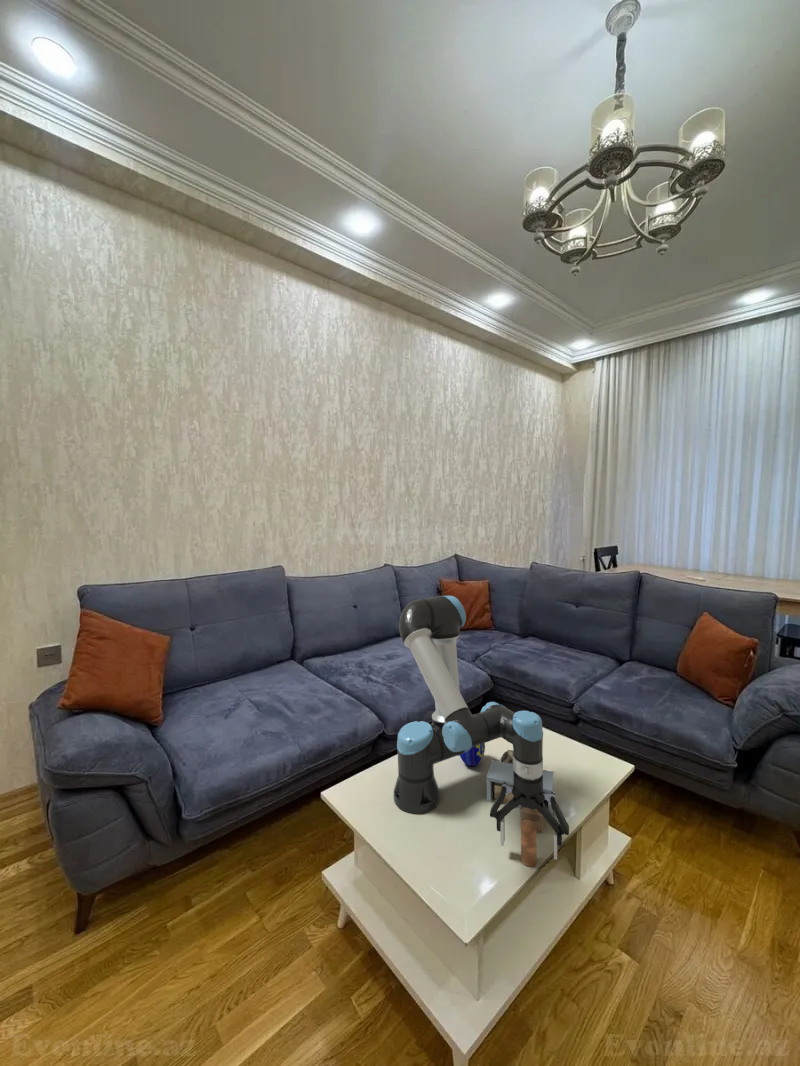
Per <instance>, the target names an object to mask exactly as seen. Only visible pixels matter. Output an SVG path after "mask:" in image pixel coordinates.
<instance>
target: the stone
mask: <svg viewBox="0 0 800 1066" xmlns="http://www.w3.org/2000/svg"><path fill="white" fill-rule="evenodd" d="M500 762H505V763H510V764H513V749H507V750H506V751H504V753H503V754H502V756H501V758H500Z"/></svg>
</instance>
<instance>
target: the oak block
mask: <svg viewBox="0 0 800 1066" xmlns="http://www.w3.org/2000/svg"><path fill="white" fill-rule="evenodd" d="M502 785H503V784H502V783H498V782H495V785H494V800H495V801H496V799H497V797H498V796H499V794H500V792H501V789H502ZM508 786H511V787H513V786H512V785H508ZM513 797H514V796H513V794H512V792H510V793H509V794H508V795H505V798H504V800H503V802H502V803H506V804H507V803H508V802H509V801H510V800H511V799H513Z"/></svg>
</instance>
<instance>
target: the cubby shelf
mask: <svg viewBox="0 0 800 1066" xmlns="http://www.w3.org/2000/svg"><path fill="white" fill-rule="evenodd" d="M513 772H514V769H513V764H510V763H505V762H501V760H500V761H498V760H493V759H492V760H491V762H490V766H489V768H488V771H487V773H486V802H490V803H491V802H492V798H493V794H494V792H495V788H494V785H495V782H498V783H502V784H503V782H506V783H507V785H512V786H513V785H514V778H513ZM542 775H543V791H544V793H545V794H551V792H554V793H555V791H554V785H555V784H554V771H551V770H546V769H543V774H542ZM547 803H548V802H547ZM547 808H548V810H549V811H550V812H551V814H552V815H553V813H554V812H553V809H552V807H551V805H550V804H549V803H548V804H547ZM516 809H520V810H522V806H521V805H519V806H518V807H517V808H516ZM553 816H554V815H553Z"/></svg>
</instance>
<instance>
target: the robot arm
mask: <svg viewBox="0 0 800 1066" xmlns="http://www.w3.org/2000/svg"><path fill="white" fill-rule="evenodd" d="M466 621H467V614H466V611H465V608H464V606H463V603H462V602H460V600H459V599H458V598H457V597H455V596H453V595H439V596H438V595H437V596H434V597H427V598H422V599H415V600H412V601H410V602H409V603H407V604H406V606H405V607H404V608H403V610H402V611H401V614H400V616H399V621H398V627H399V628H398V631H399V634H400V635H399V636H400V638H401V641H402V642H403V645H404V647H405V648H408V649H409V650H410V652H411V653H412V655H413V658H414V660H415V662H416V664H417V666H418V668H419V670H420V673H421V675H422V678H423V679H424V681H425V683H426V686H427V687H428V689H429V691H430V693H431V695H432V698H433V700H434V703H435V704H434V705H435V711H433V713H432V714H431V724H430V723H428V722H427V721H422V720H420V721H417V720H415V721H412V722H409V723H406V724H405V725H403V726H402V727H401V728H400V729H399V731H398V733H397V741H396V749H397V771H398V772H397V774H398V775H397V778H396V781H395V785H394V789H393V801H394V802H393V803H394V804H395V805H396V806H397V808H399V809H400V810H402V811H404V812H407V813H409V814H410V813H411V814H424V813H427V812H430V811H431V810H433V809H435V808H436V807H437V806H438V805H439V802H440V797H441V796H440V794H441V793H440V787H439V785H438V783H437V779H436V777H435V771H434V769H435V768H434V765H435V764H438V763H440V762H444V761H447V760H450V759H452V758H454V757H456V756H458V757H460V755H462V754H463V753H465V752H467V751H469V750H470V749H471V748H472V747H475V746H477V745H480V744H482V743H485V744H486V743H488V742H492V741H493V740H498V739H500V738H502V739H504V740H505V741H506V742H508V743H510V744H511V745H512V748H513V749H512V750H513V769H514V772H513V778H514V785H513V787H511V786H508V785H507V783H506V782H503V785H502V789H501V792H500V794H499V796H498V797H497V799H496V800H495V801H494V803H493V804H492V806H491V808H490V812H489V817H490V818H494V819H495V820H496V831H497V832H500V846H502V847H504V846H505V841H506V834H505V833H506V819H505V818H506V816H508V815H509V813H511V812H512V811H513V810H514V809H518V808H517V807H518V806H519V805H521V808H522V807H524V808H530V809H533V810H534V809H537V810H538V812H539V813H540V814H542V815H543V817H544V820H545V821H546V822H547V824H548V825H549V826H550V827H551V828H552V829H553V860H555V861H557V860H558V847H560V848H561V847H562V846H563V835H565V836H569V835H570V825H569V823H568V822H567V820H566V818H565V815H564V813H563V812H562V809H561V807H560V805H559V803H558V801H557V795H556V793H555V791H554V792H551V794H545V793H544V791H543V775H542V774H543V770H544V758H543V755H544V754H543V753H544V752H543V747H544V746H543V742H544V729H543V720H542V718H541V717H540V715H539V714H537V713H536V712H533V711H529V710H519V711H516V712H515V711H512V710H511V709H509V708H507V707H506V706H505V705H503V704H500V703H498V702H496V701H490V702H487V703H486V704H485V705H484V706H482V708H481V710H480V712H478V713H474V714H472V712H471V711H470V709H469V707H468V705H467V703H466V701H465V699H464V697H463V696H462V694H461V691H460V683H459V665H458V654H457V653H458V651H457V641H458V640H457V639H458V638H459V637H460V636H461V631H460V629H461V628H463V627H464V626H465V625H466V624H465V623H466ZM510 792H512V794H513V796H514V797H513V799H511V800H510V801H509V802H508V803H507V802H506V804H505V805H504V806H503V807H501V805H502V803H504V802H503V800H504V798H505V795H508V794H509V793H510ZM545 801H547V803H549V804H550V805H551V807H552V809H553V813H554V815H555V816H554V815H552V814H551V812H550V811H549V810H548V806H547V805H546V804H545ZM500 807H501V808H500Z"/></svg>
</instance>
